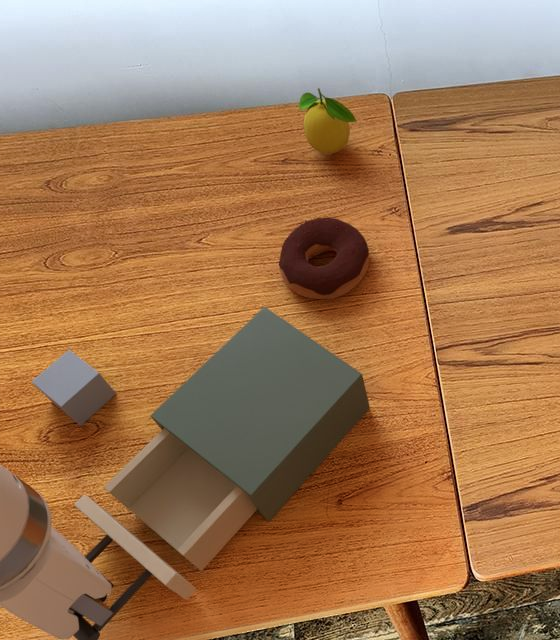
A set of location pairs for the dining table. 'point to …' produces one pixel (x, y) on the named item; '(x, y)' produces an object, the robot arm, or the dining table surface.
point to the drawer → (167, 515)
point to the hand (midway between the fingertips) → (93, 595)
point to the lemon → (325, 123)
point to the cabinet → (266, 409)
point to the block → (74, 387)
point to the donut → (332, 276)
